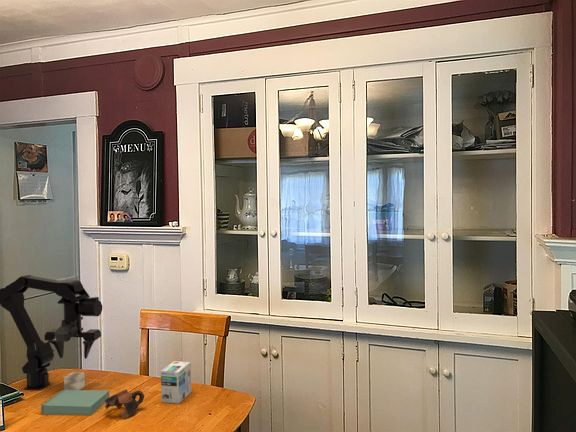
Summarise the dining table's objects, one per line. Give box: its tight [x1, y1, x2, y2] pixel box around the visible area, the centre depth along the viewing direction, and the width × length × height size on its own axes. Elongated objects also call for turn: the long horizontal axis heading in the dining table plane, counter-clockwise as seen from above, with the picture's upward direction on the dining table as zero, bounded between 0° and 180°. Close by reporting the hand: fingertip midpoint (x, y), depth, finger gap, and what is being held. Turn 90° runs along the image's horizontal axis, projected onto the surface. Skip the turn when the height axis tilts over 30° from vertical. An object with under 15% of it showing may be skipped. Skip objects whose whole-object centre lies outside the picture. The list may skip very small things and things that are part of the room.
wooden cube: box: [63, 371, 86, 390], centre depth 179 cm, size 5×5×5 cm
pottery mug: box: [104, 389, 145, 420], centre depth 158 cm, size 12×10×8 cm
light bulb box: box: [160, 360, 192, 404], centre depth 169 cm, size 11×7×11 cm, turn 168°
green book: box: [40, 388, 110, 416], centre depth 163 cm, size 16×13×3 cm
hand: (73, 358), depth 178 cm, fingers open, 9 cm apart
